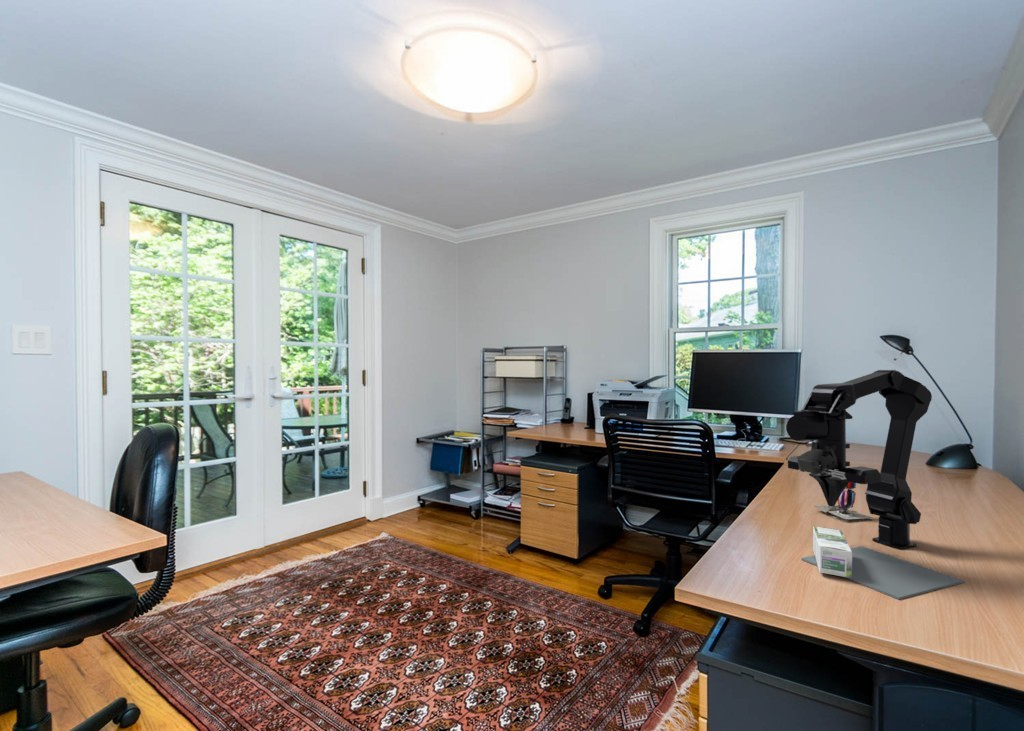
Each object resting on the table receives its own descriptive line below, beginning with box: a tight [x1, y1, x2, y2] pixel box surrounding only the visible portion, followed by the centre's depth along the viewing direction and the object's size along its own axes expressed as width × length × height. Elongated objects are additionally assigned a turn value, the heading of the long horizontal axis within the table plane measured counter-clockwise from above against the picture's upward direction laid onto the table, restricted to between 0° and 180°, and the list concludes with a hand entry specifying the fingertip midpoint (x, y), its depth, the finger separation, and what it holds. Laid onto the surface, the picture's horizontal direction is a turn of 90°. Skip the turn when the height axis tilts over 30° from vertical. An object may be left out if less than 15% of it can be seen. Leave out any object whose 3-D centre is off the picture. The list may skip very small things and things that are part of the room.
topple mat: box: [800, 545, 965, 600], centre depth 103 cm, size 20×20×1 cm
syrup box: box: [812, 525, 852, 578], centre depth 105 cm, size 6×6×14 cm
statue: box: [814, 482, 873, 523], centre depth 140 cm, size 11×9×15 cm
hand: (831, 505), depth 112 cm, fingers closed
